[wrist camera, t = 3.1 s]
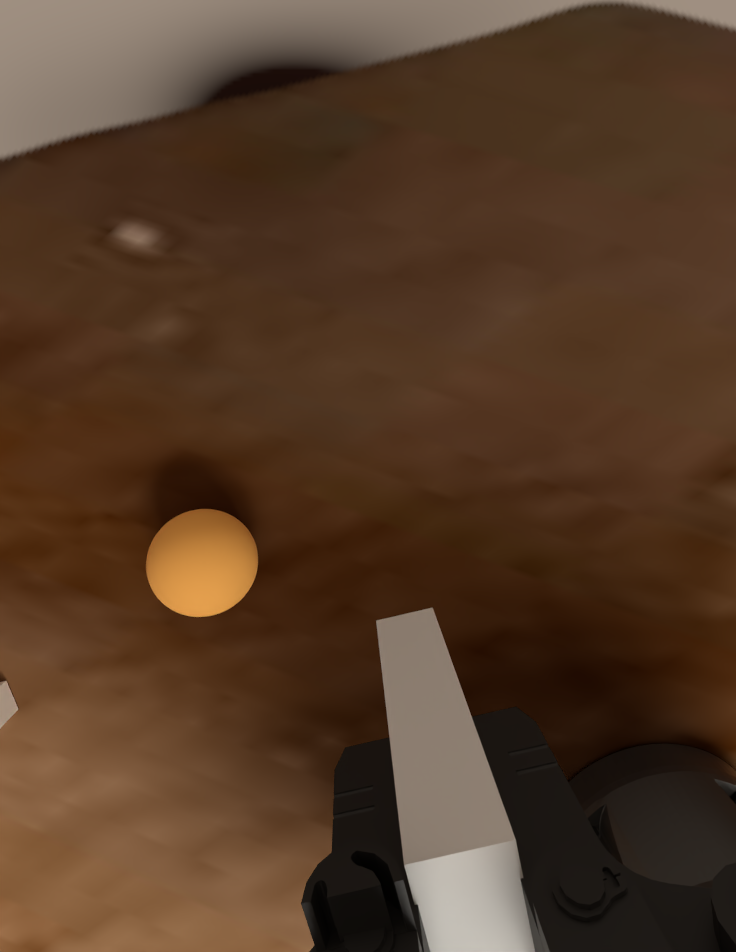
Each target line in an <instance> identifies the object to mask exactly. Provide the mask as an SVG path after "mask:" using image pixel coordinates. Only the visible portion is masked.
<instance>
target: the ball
mask: <svg viewBox="0 0 736 952" xmlns="http://www.w3.org/2000/svg"><path fill="white" fill-rule="evenodd" d="M257 568H258V552H257V547H256V544H255V541H254V539H253V537H252V535H251V533H250V532H249V530H248V529H247V528H246V527H245V526H244V524H243V523H241V522H240V521H239V520H238V519H236V518H235V517H233V516H232V515H230V514H227V513H225V512H222V511H218V510H214V509H197V510H192V511H188V512H185V513H182V514H180V515H178V516H176V517H175V518H173V519H171V520H170V521H168V522H167V523H166V524H165V525H164V526H163V527H162V528H161V529H160V530H159V531H158V532H157V534H156V535H155V537H154V539H153V541H152V543H151V545H150V547H149V550H148V554H147V560H146V572H147V577H148V581H149V584H150V586H151V589H152V590H153V592H154V594H155V595H156V596H157V598H158V599H159V600H160V601H161V602H162V603H163V604H164V605H165V606H167V607H168V608H170V609H171V610H173V611H175V612H177V613H180V614H183V615H187V616H192V617H206V616H212V615H216V614H219V613H221V612H224V611H226V610H228V609H230V608H231V607H233V606H234V605H235V604H237V603H238V602H239V601H240V600H241V599H242V598H243V597H244V596H245V595H246V593H247V592H248V591H249V589H250V588H251V586H252V584H253V582H254V579H255V576H256V573H257Z"/></svg>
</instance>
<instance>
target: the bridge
mask: <svg viewBox="0 0 736 952" xmlns="http://www.w3.org/2000/svg"><path fill="white" fill-rule="evenodd" d="M17 710H18V707H17V704H16V702H15V700H14V697H13V695H12V693H11V690H10V688H9V686H8V683H7V681H2V682H0V728H1V727H2V726H3V725H4V724H5V723H6V722H7V721H8V720H9V719H10V718H11V717H12V716H13V715H14V714H15V712H16V711H17Z"/></svg>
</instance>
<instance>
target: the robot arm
mask: <svg viewBox="0 0 736 952" xmlns="http://www.w3.org/2000/svg"><path fill="white" fill-rule="evenodd" d="M376 624H377V633H378V642H379V650H380V659H381V668H382V677H383V685H384V694H385V703H386V711H387V720H388V729H389V738H385V739H381V740H376V741H372V742H368V743H363V744H359V745H354V746H350V747H346V748H345V749H344V751H343V754H342V756H341V758H340V760H339V762H338V764H337V766H336V768H335V774H334V805H333V815H334V819H333V837H332V853H331V854H329V855H328V856H327V857H326V858H325V859H324V860H322V861H321V862H320V863H319V864H318V865H317V867H316V868H315V870H314V872H313V873H312V875H311V876H310V878H309V879H308V881H307V883H306V887H305V890H304V894H303V898H302V902H301V904H302V908H303V911H304V914H305V917H306V920H307V923H308V926H309V929H310V932H311V935H312V938H313V941H314V944H315V945H314V947H313V948H312V949H311V950H310V952H736V771H735V770H734V769H733V768H732V767H731V766H730V765H729V764H727V763H726V762H725V761H723V760H722V759H720V758H718V757H717V756H715V755H713V754H711V753H709V752H706V751H703V750H701V749H697V748H694V747H690V746H685V745H678V744H649V745H642V746H637V747H632V748H629V749H625V750H622V751H619V752H616V753H614V754H611V755H609V756H607V757H604V758H602V759H600V760H599V761H597V762H595V763H593V764H592V765H590V766H588V767H587V768H585V769H584V770H583V771H581V772H580V773H579V774H577V775H576V776H575V777H574V778H573V779H572V780H571V781H570V782H568V781H567V779H566V777H565V775H564V774H563V772H562V770H561V768H560V766H558V763H557V760H556V759H555V757H554V755H553V753H552V751H551V749H550V747H548V744H547V742H546V740H545V738H544V736H543V734H542V732H541V731H540V729H539V727H538V725H537V723H536V722H535V721H534V720H533V719H531V718H530V717H529V716H528V715H526V714H525V713H524V712H522V711H521V710H520V709H519V708H517V707H513V708H508V709H504V710H499V711H495V712H491V713H486V714H482V715H478V716H473V717H472V716H471V714H470V711H469V708H468V705H467V702H466V700H465V697H464V694H463V691H462V688H461V686H460V683H459V680H458V677H457V674H456V672H455V669H454V666H453V663H452V660H451V658H450V655H449V652H448V649H447V647H446V644H445V641H444V638H443V635H442V633H441V630H440V627H439V624H438V621H437V619H436V616H435V613H434V610H433V608H429V609H424V610H420V611H416V612H411V613H407V614H402V615H398V616H394V617H389V618H385V619H381V620H376Z"/></svg>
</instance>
